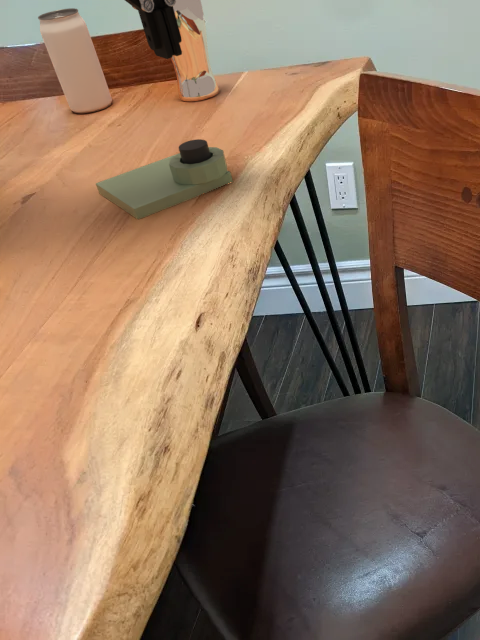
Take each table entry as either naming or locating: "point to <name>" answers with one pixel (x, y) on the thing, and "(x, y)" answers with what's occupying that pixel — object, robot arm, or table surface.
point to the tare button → (194, 151)
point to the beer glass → (193, 54)
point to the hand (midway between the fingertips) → (168, 54)
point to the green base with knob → (165, 183)
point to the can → (75, 60)
